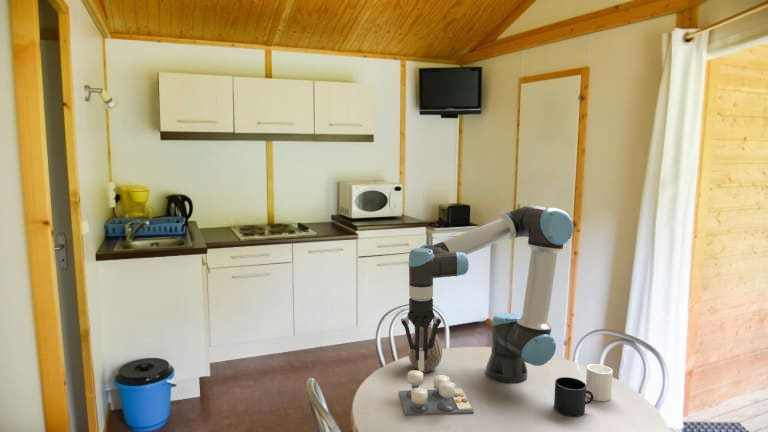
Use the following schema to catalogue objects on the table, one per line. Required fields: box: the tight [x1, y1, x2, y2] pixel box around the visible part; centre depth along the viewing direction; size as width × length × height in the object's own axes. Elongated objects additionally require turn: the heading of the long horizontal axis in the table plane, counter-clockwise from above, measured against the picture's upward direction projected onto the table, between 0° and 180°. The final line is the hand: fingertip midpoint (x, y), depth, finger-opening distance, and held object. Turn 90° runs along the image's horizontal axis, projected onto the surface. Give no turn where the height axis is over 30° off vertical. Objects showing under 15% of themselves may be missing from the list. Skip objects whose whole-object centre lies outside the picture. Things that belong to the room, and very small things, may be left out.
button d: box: [411, 387, 428, 408], centre depth 162 cm, size 5×5×5 cm
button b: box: [439, 380, 456, 401], centre depth 163 cm, size 5×5×5 cm
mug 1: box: [553, 376, 593, 418], centre depth 163 cm, size 9×12×9 cm
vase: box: [407, 323, 443, 373], centre depth 194 cm, size 13×13×18 cm
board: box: [399, 388, 474, 417], centre depth 168 cm, size 22×16×2 cm
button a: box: [433, 374, 450, 393], centre depth 172 cm, size 5×5×5 cm
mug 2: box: [585, 363, 614, 402], centre depth 175 cm, size 8×12×10 cm, turn 7°
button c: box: [407, 369, 424, 389], centre depth 171 cm, size 5×5×5 cm
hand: (421, 369), depth 161 cm, fingers closed
